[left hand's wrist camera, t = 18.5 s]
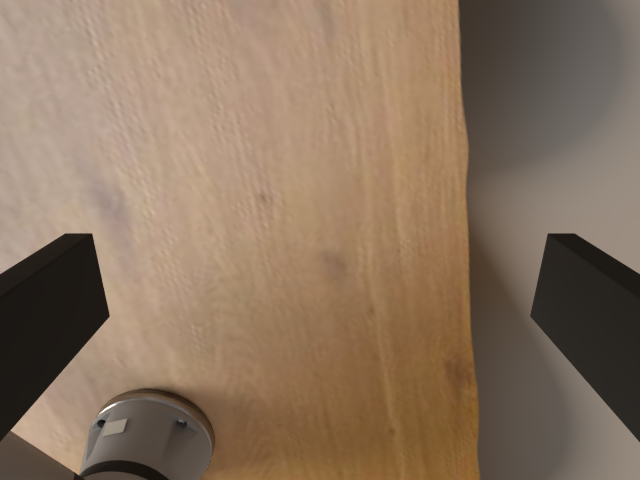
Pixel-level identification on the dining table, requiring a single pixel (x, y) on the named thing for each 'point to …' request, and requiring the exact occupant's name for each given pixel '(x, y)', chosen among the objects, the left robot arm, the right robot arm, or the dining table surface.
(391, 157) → the dining table surface
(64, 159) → the dining table surface
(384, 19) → the dining table surface
